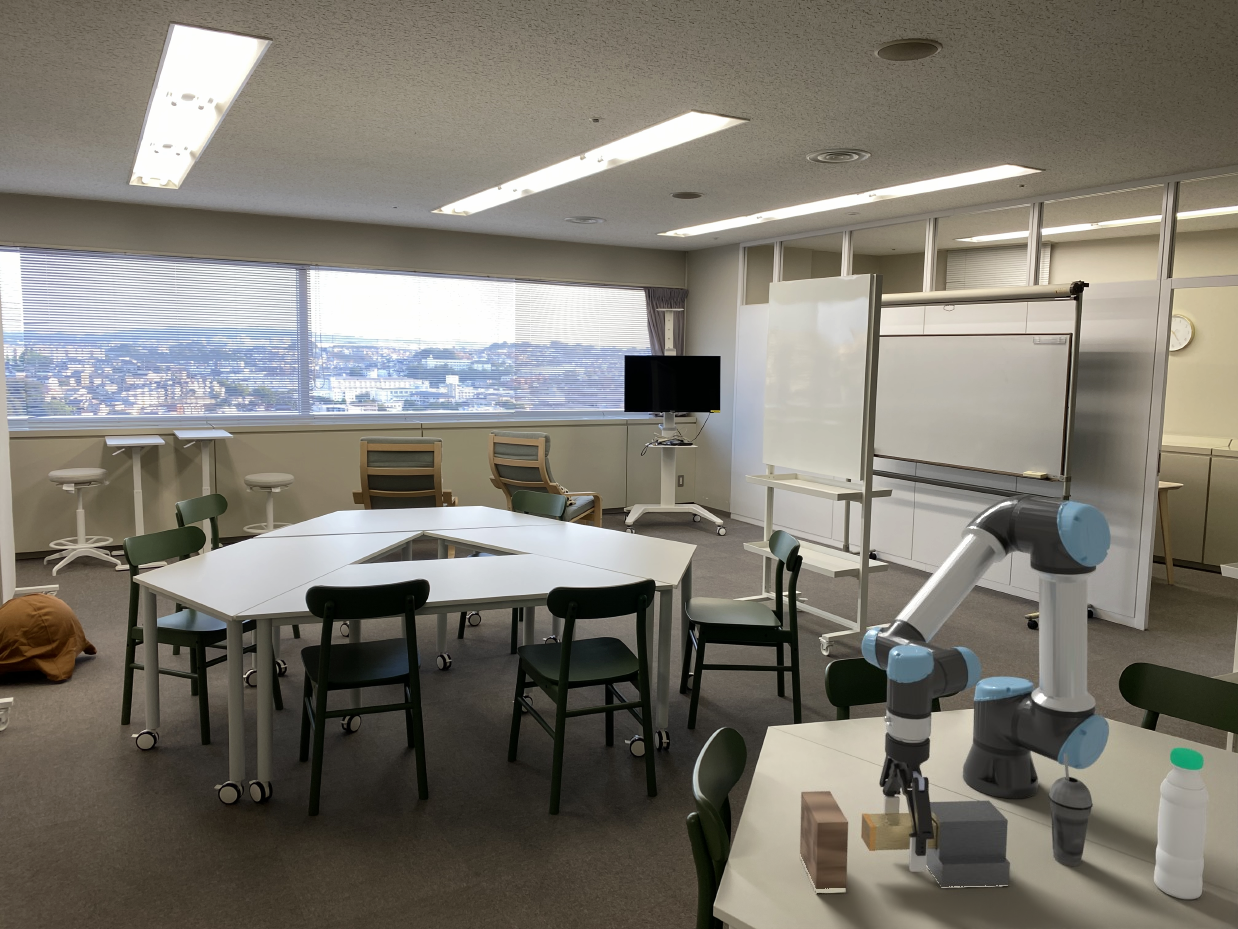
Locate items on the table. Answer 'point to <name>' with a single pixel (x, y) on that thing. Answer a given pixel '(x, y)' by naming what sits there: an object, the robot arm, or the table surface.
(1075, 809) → the beverage cup
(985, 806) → the sleeve
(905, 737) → the robot arm
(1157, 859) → the water bottle
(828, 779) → the table surface
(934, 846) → the rail
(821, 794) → the socket block
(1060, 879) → the table surface
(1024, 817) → the table surface
